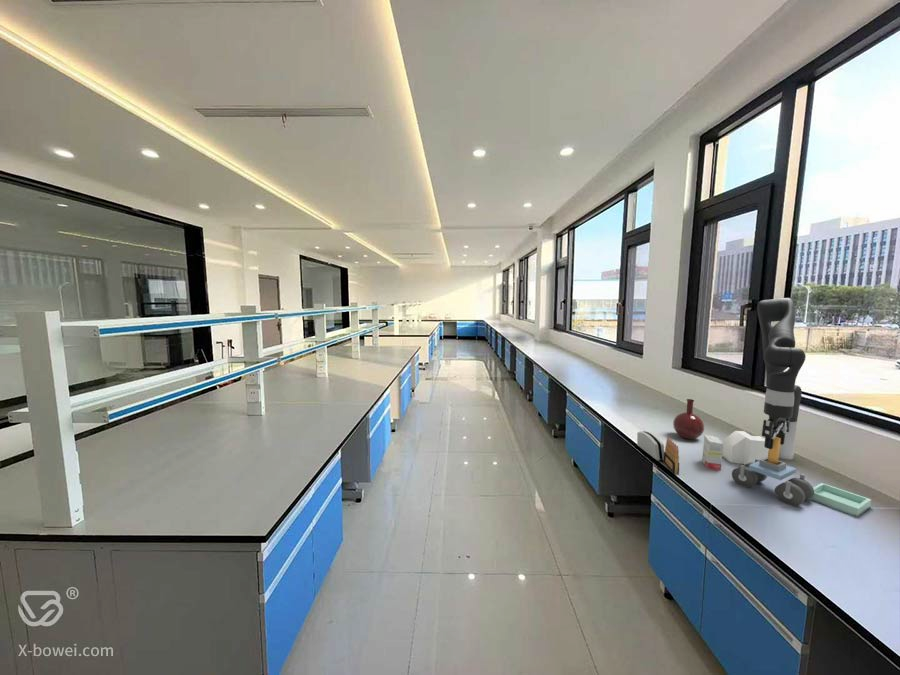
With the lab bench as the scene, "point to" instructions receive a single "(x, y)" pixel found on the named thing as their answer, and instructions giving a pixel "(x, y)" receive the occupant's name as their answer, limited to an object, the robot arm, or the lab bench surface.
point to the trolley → (786, 492)
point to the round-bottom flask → (688, 423)
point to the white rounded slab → (651, 444)
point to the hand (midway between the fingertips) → (774, 446)
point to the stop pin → (774, 451)
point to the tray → (840, 499)
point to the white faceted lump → (744, 448)
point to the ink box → (712, 452)
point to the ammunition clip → (671, 456)
